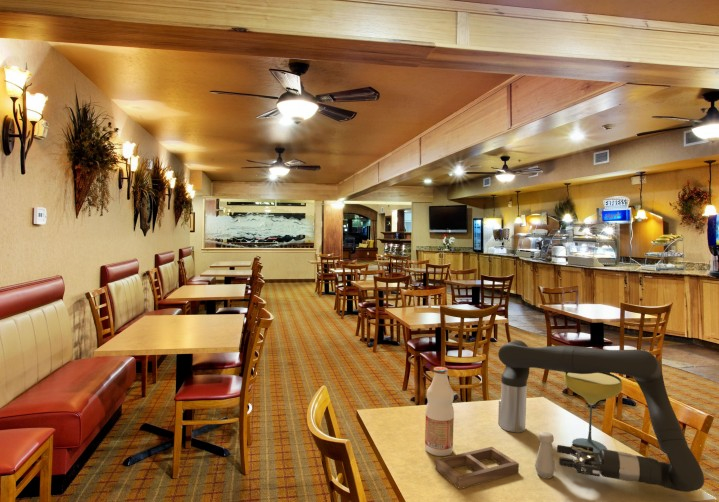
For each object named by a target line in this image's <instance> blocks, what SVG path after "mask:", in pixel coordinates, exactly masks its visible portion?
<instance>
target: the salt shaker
mask: <svg viewBox="0 0 719 502" xmlns="http://www.w3.org/2000/svg"><path fill="white" fill-rule="evenodd" d="M537 436H538V441H540V443H539V447H538V451H537V455H536V459H535V462H534V468H535V470H536V474H537V475H538V476H539V477H541V478H543V479H551V478H553V476H554V474H555V471H556V464H555V457H554V451H553V444H552V443H554V440H555V436H554V435H553V434H552V433H551V432H549V431H539V433H538V435H537Z"/></svg>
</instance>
